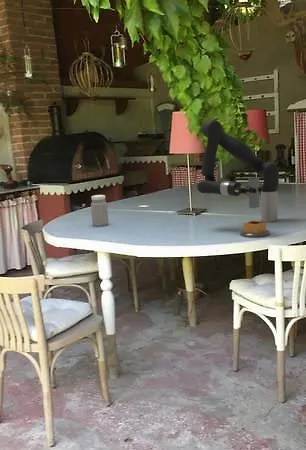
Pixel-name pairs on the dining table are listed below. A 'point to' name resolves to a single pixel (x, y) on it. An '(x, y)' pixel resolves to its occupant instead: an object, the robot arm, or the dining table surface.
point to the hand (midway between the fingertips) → (258, 190)
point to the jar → (99, 210)
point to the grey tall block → (253, 196)
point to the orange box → (254, 229)
